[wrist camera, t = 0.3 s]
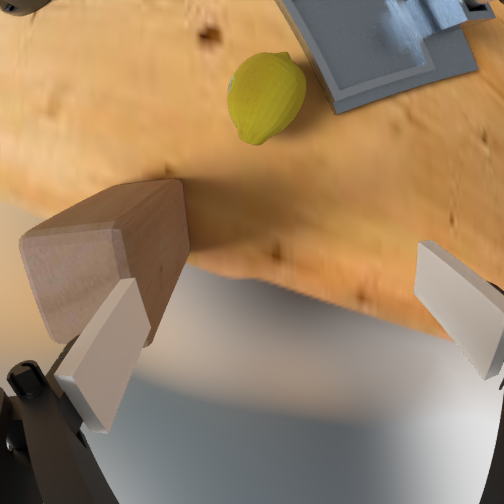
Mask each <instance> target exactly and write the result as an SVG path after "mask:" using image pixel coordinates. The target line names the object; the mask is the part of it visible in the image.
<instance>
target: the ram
mask: <svg viewBox="0 0 504 504" xmlns="http://www.w3.org/2000/svg"><path fill="white" fill-rule="evenodd" d="M491 1H493V0H464V2H465V4H466V6H467V8H468V10H469V9H472V8H474V7H477V6H480V5H482V4H485V3H488V2H491ZM499 1H500V2H501V3H503V4H504V0H499Z"/></svg>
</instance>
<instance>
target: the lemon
mask: <svg viewBox="0 0 504 504" xmlns="http://www.w3.org/2000/svg"><path fill="white" fill-rule="evenodd" d="M306 87H307V86H306V78H305V75H304V73H303V72H302V70H301V69H300V67H299V66H297V65H296V64H295V63H294V62H293V61H292V60H291V59H290V56H289V54H288V52H280V53H260V54H256V55H254V56H252V57H250V58H249V59H247V60H246V61H245V62H244V63H243V64H242V65H241V66H240V67H239V68H238V69H237V71H236V72H235V74H234V75H233V77H232V79H231V81H230V84H229V89H228V97H227V99H228V109H229V113H230V116H231V118H232V120H233V122H234V124H235V125H236V127H237V130H238V133H239V137H240V139H241V140H242V141H244V142H246V143H250V144H253V145H261V144H263V143H264V142H265V141H266V140H267V139H269V138H270V137H272V136H274V135H276V134H278V133H280V132H281V131H282V130H284V129H285V128H286V127H287V126H288V125H289V124H290V123H291V122H292V121H293V120H294V119H295V117H296V116H297V114H298V112H299V111H300V109H301V106H302V104H303V102H304V99H305V94H306Z"/></svg>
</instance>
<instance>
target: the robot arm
mask: <svg viewBox="0 0 504 504" xmlns="http://www.w3.org/2000/svg"><path fill="white" fill-rule="evenodd" d="M49 1H50V0H0V10H1V11H3V12H4V13H7V14H10V15H13V16H24V15H27V14H30V13H32V12H34V11H36V10H38V9H39V8H41V7H42V6H44V5H45V4H46V3H48V2H49ZM414 294H415V295H416V296H417V298H418V299H419V300H420V301H421V302H422V303H423V304H424V306H425V307H426V308H427V309H428V310H429V311H430V313H431V314H432V315H433V316H434V317H435V319H436V320H437V321H438V322H439V323H440V325H441V326H442V327H443V328H444V329H445V331H446V332H447V333H448V334H449V335H450V337H451V338H452V339H453V340H454V342H455V343H456V344H457V345H458V347H459V348H460V349H461V350H462V352H463V353H464V354H465V356H466V357H467V358H468V359H469V361H470V362H471V363H472V365H473V366H474V367H475V369H476V370H477V371H478V373H479V374H480V375H481V377H482V378H483V379H484V380H486V379H488V378H490V377H493V376H495V375H498V374H499V372H500V370H501V367H502V365H503V362H504V291H503V290H502V289H500V288H499V287H498V286H497V285H495V284H493V283H490V282H488V281H486V280H484V279H483V278H482V277H481V276H479V275H478V274H477V273H475V272H474V271H473V270H472V269H470V268H469V267H468V266H466V265H465V264H464V263H463V262H461V261H460V260H459V259H457V258H456V257H455V256H453V255H452V254H450V253H449V252H448V251H446V250H445V249H444V248H442V247H441V246H440V245H438V244H437V243H435V242H434V241H433V240H428V241H420V242H419V243H418V257H417V269H416V279H415V288H414ZM150 329H151V326H150V323H149V320H148V317H147V314H146V311H145V308H144V305H143V302H142V298H141V295H140V292H139V289H138V286H137V282H136V279H135V278H128V279H121V280H120V281H119V282H118V283H117V285H116V286H115V287H114V289H113V290H112V291H111V293H110V294H109V295H108V297H107V298H106V300H105V301H104V302H103V304H102V305H101V306H100V308H99V309H98V310H97V312H96V313H95V315H94V316H93V317H92V319H91V320H90V322H89V323H88V324H87V326H86V327H85V329H84V330H83V332H82V333H81V334H80V335H77V336H76V337H74V338H73V339H72V340H71V341H70V342H68V344H67V345H66V347H65V348H64V350H63V352H62V353H61V354H60V355H59V357H58V359H57V360H56V361H55V363H54V364H53V366H52V367H51V369H50V370H49V372H48V373H47V375H46V376H44V375H43V373H42V371H41V369H40V367H39V366H38V364H37V362H35V361H33V360H27V361H24V362H21V363H19V364H17V365H15V366H14V367H13V368H12V369H11V370H10V372H9V373H8V375H7V381H8V382H9V384H10V385H11V387H12V388H13V390H14V392H15V393H16V395H17V396H11V397H8V396H7V395H6V393H5V392H4V391H3V389H2V388H0V504H43V503H44V504H119V502H118V501H117V499H116V497H115V496H114V494H113V492H112V490H111V488H110V487H109V485H108V483H107V481H106V479H105V477H104V475H103V474H102V472H101V470H100V468H99V466H98V464H97V462H96V460H95V458H94V455H93V453H92V451H91V449H90V447H89V445H88V443H87V440H86V438H85V436H84V434H83V433H82V431H81V430H80V427H81V424H82V422H84V423H85V424H86V426H87V427H88V429H89V430H90V431H92V432H99V433H109V431H110V428H111V425H112V423H113V420H114V417H115V415H116V412H117V409H118V407H119V404H120V402H121V399H122V397H123V394H124V392H125V389H126V386H127V384H128V381H129V379H130V377H131V374H132V371H133V369H134V367H135V364H136V362H137V360H138V357H139V355H140V352H141V350H142V348H143V345H144V343H145V341H146V338H147V336H148V334H149V331H150ZM503 386H504V379H503V381H502V383H501V385H500V388H499V390H501V389H502V387H503ZM6 441H7V442H8V444H9V449H8V448H7V443H6ZM479 504H504V396H503V404H502V411H501V418H500V424H499V429H498V435H497V440H496V445H495V450H494V454H493V458H492V462H491V467H490V470H489V474H488V477H487V481H486V484H485V488H484V491H483V494H482V497H481V500H480V503H479Z"/></svg>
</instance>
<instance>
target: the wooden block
mask: <svg viewBox="0 0 504 504" xmlns="http://www.w3.org/2000/svg"><path fill="white" fill-rule="evenodd" d="M19 249H20V253H21V257H22V260H23V264H24V267H25V270H26V274H27V277H28V280H29V283H30V286H31V289H32V292H33V295H34V298H35V301H36V303H37V306H38V309H39V312H40V314H41V317H42V320H43V322H44V325H45V327H46V330H47V332H48V334H49V336H50V338H51V339H52V340H53V341H54V342H57V343H59V344H68V342H70V341H71V340H72V339H73V338H74V337H76V336H77V335H80V334H81V333H82V332H83V330H84V329H85V327H86V326H87V324H88V323H89V322H90V320H91V319H92V317H93V316H94V315H95V313H96V312H97V310H98V309H99V308H100V306H101V305H102V304H103V302H104V301H105V300H106V298H107V297H108V295H109V294H110V293H111V291H112V290H113V289H114V287H115V286H116V285H117V283H118V282H119V281H120V280H121V279H128V278H135V279H136V282H137V286H138V289H139V292H140V295H141V298H142V302H143V305H144V308H145V311H146V314H147V317H148V320H149V323H150V326H151V329H150V331H149V334H148V336H147V338H146V341H145V343H144V345H143V348H144V347H147V346H149V345H150V344H151V343H152V341H153V339H154V336H155V334H156V331H157V329H158V326H159V324H160V321H161V319H162V316H163V314H164V312H165V309H166V306H167V304H168V302H169V300H170V297H171V295H172V292H173V290H174V288H175V285H176V283H177V281H178V278H179V276H180V274H181V271H182V269H183V267H184V265H185V262H186V260H187V258H188V256H189V253H190V241H189V234H188V225H187V217H186V208H185V199H184V190H183V185H182V183H181V181H180V180H178V179H174V178H173V179H163V180H154V181H146V182H137V183H130V184H122V185H115V186H112V187H109V188H107V189H105V190H103V191H101V192H99V193H97V194H95V195H93V196H91V197H89V198H87V199H85V200H83V201H81V202H79V203H77V204H75V205H74V206H72V207H70V208H68V209H66V210H64V211H62V212H60V213H59V214H57V215H55V216H53V217H51V218H49V219H48V220H46V221H44V222H42V223H41V224H39V225H37V226H35V227H34V228H32V229H30V230H29V231H27V232H26V233H25V234H24V235H22V236H21V238H20V240H19Z"/></svg>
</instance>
